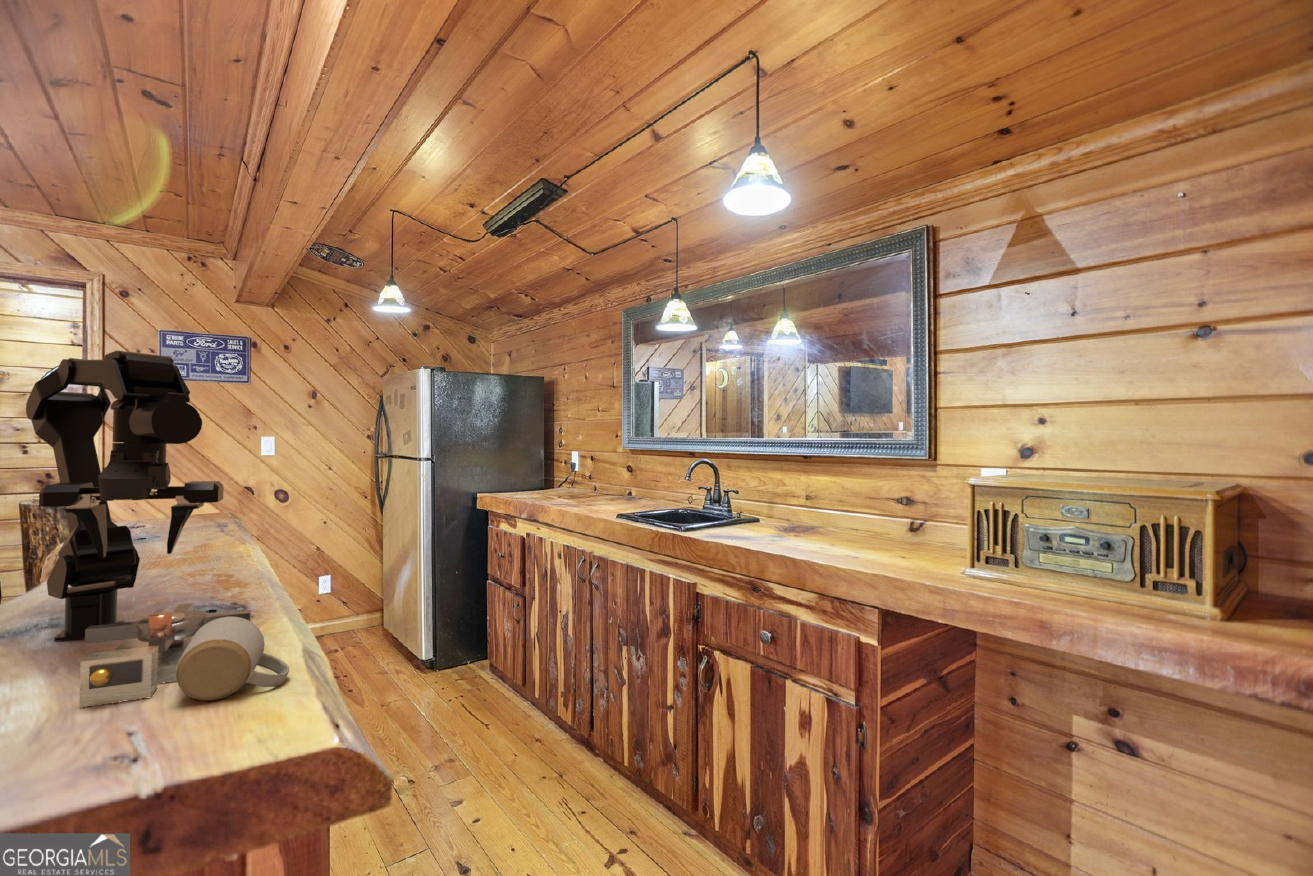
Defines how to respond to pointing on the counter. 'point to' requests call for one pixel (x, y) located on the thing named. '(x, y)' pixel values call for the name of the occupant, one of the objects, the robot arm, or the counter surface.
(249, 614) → the capstan
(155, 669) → the stand
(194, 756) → the counter surface
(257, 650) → the ceramic mug
